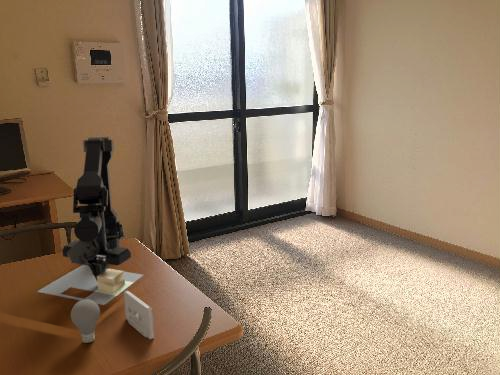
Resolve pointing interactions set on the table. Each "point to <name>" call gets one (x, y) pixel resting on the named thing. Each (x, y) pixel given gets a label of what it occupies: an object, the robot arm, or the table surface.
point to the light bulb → (85, 318)
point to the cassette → (139, 315)
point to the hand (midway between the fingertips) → (99, 280)
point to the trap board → (86, 285)
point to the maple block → (111, 280)
